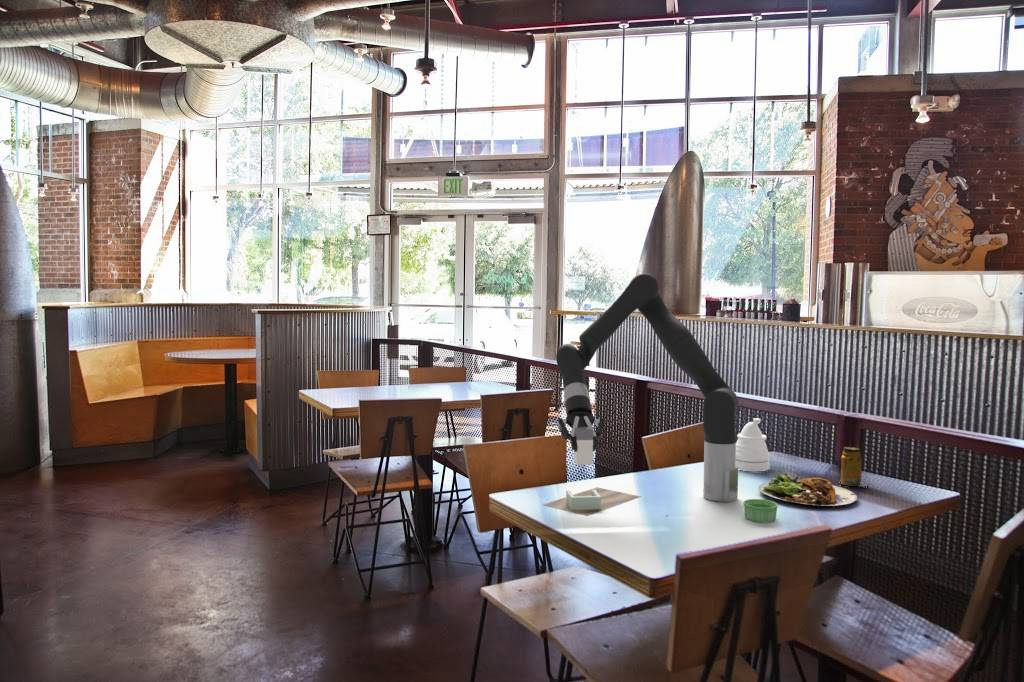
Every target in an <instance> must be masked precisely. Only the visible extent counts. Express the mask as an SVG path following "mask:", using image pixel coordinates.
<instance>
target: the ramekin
mask: <svg viewBox="0 0 1024 682" xmlns="http://www.w3.org/2000/svg"><path fill="white" fill-rule="evenodd" d="M743 506H744V507H743V508H744V509H743V510H744V517H745V519H746V520H748V521H751V522H753V523H754V522H755V523H762V524H763V523H764V524H767V523H773V522H775V521H776V519H777V518H776V517H777V511H778V506H779V504H778V502H775V501H773V500H768V499H763V498H749V499H745V500H744V501H743Z"/></svg>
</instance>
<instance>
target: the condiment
mask: <svg viewBox="0 0 1024 682" xmlns="http://www.w3.org/2000/svg"><path fill="white" fill-rule="evenodd" d="M861 455H862V454H861V448H859V447H852V446H844V447H843V448H842V455H841V460H840V461H841V463H840V464H841V465H840V481H841V484H844V485H849V486H850V485H851V486H858V485H860V483H862V459H863V458H862V456H861ZM849 486H848V487H849ZM863 488H864V489H868V488H867V487H866V488H865V487H863Z"/></svg>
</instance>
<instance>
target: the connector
mask: <svg viewBox="0 0 1024 682" xmlns="http://www.w3.org/2000/svg"><path fill="white" fill-rule="evenodd" d="M593 430H594V428H593V429H592V428H591V427H575V433H576V434H575V437H576V441H577V446H578V449H577V452H574V451H573V461H574V463H575V465H577V466H579V465H580V466H584V465H585V466H587V465H594V462H593V461H594V452H593Z"/></svg>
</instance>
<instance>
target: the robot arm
mask: <svg viewBox="0 0 1024 682" xmlns="http://www.w3.org/2000/svg"><path fill="white" fill-rule="evenodd" d="M659 289H660V288H659V282H658V280H657V279H656V277H655V276H653V275H652V274H649V273H639V274H637V275H636V276H634V277H633V278H632V279H631V280H630V282H629V284H628V285H627V287H626V288H625V289H624V290H623V291H622V293H621V294H620V295H619V297H617V298H616V300H615V301H614V302H613V303H612V304H611V305H610V306H609V307H608V308H607V309H606V310H605V311H603V313H602V314H600V316H599V317H598V318H596V319H595V320H594V321H593V322H592V323H591V324H590V325H589V326H588V327H587V328H586V329H585V330H584V331H583V332H582V333H581V334H580V335H579V337H578V339H579V342H580V344H579V345H580V346H579V347H578V348H577V347H576V346H575V345H573V344H571V343H565V344H561V346H559V347H558V349H557V351H556V354H555V361H556V365H557V367H558V370H559V373H560V376H561V379H562V386H563V397H564V398H563V400H564V402H563V403H564V408H565V414H566V417H565V418H564V419H562V418H561V417H560V418H558V419H557V428H558V429H559V431H560V434H561V436H562V439H564V440H565V441H567V440H569V441H570V447H571V450H572V451H573V453H574V452H577V449H578V446H577V441H576V437H575V434H576V433H575V427H591V428H592V429H593V453H595V452H596V450H597V448H598V442H597V440H601V438H602V436H603V435H602V433H603V428H604V424H605V423H604V422H605V418H603V417H601V418H595V416H594V415H593V411H592V404H591V397H590V393H589V390H588V385H587V379H586V376H585V373H584V372H583V371H584V370H585V369H586V368H587V367H588V365H589V364H590V362H591V361H592V359H593V358H594V355H595V354H596V352H597V350H599V349H600V348H601V347H602V346H603V345H604V344H605V343H606V342H607V341H608V340H609V339H610V338H611V337H612V336H614V334H615V332H617V330H618V329H619V328H620V327H621V325H623V323H624V322H625V321H626V319H628V318H629V316H631V314H633V313H634V312H635V311H636V310H638V311H639V312H640V313H641V314H642V316H643V317H644V318H645V319H646V321H647V322H648V323H649V324H650V326H651V329H652V330H653V331H654V333H655V335H656V336H657V338H658V339H659V341H660V343H661V345H662V347H663V348H664V349H665V351H666V352H667V354H668V355H669V357H670V358H671V359H672V360H673V361H672V362H674V363H675V364H676V366H677V367H678V368H679V369H681V370H682V372H683V373H685V374H686V375H687V377H688V378H690V379H691V380H692V381H693V383H695V384H696V385H697V388H698V389H699V391H700V392H701V394H702V395H703V397H704V400H703V404H702V406H703V407H702V430H703V435H704V441H703V443H704V444H703V445H704V446H703V447H704V448H703V449H704V450H703V451H704V453H703V489H702V491H703V498H704V499H706V500H710V501H715V502H726V503H730V502H733V501H735V500H736V499H738V496H739V491H738V490H739V471H738V467H736V443H737V433H736V427H735V426H736V425H735V424H736V422H735V421H736V412H737V411H738V408H739V399H738V396H737V394H736V393H735V392H734V390H732V388H731V387H730V386H729V385H728V383H726V381H725V380H724V379H723V377H722V376H721V375H719V373H718V372H717V370H716V369H715V368H714V366H713V364H712V363H711V361H710V360H709V358H708V356H707V354H706V352H704V350H703V348H702V347H701V345H700V344H699V342H698V341H697V339H696V338H695V336H693V334H692V332H691V331H690V330H689V329H688V328H687V326H686V325H685V324H684V323H683V322H682V321H680V319H679V318H677V317H676V316H675V315H674V314H673V313H672V312H671V311H670V309H669V308H668V307H667V305H666V304H665V301H663V298H662V297H661V295H660V294H659ZM594 424H595V426H596V427H597V430H596V431H597V432H596V431H595V430H594V427H593V425H594ZM566 425H568V427H570V428H571V429H572V430H571V433H570V432H569V430H568V428H567V426H566Z"/></svg>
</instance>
